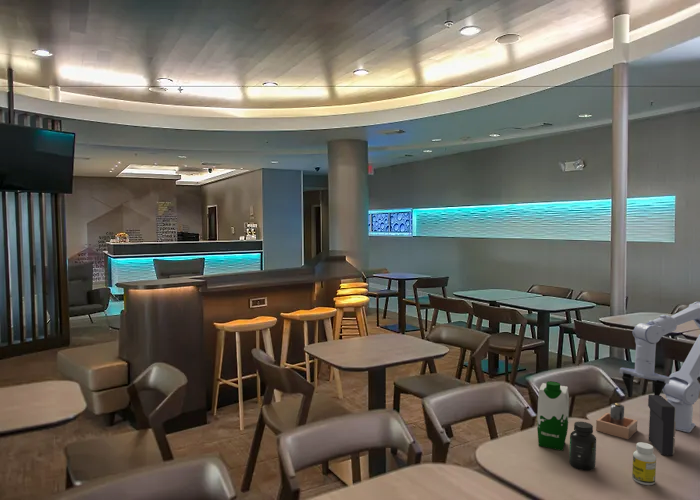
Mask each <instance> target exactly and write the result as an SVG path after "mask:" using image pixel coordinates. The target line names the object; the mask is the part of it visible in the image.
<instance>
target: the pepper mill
mask: <svg viewBox="0 0 700 500" xmlns="http://www.w3.org/2000/svg"><path fill="white" fill-rule="evenodd" d="M624 417H625V406H624V405H623V404H621V403H619V402H615V403H611V404H610V423H612V424H616V425H620V426H624Z"/></svg>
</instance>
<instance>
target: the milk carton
mask: <svg viewBox="0 0 700 500" xmlns="http://www.w3.org/2000/svg"><path fill="white" fill-rule="evenodd" d="M569 401H570V395H569V387H568V386H565V385H561V383H560V382H559V381H546V383H545V382H542V383H541V385H540V387H539V390H538V399H537V424H536V425H537V426H536V427H537V429H536V430H537V440H538V442H537V443H538V447H543V448H548V449H553V450H557V451H563V450H564V448H565V442H566V440H567V435H568V429H569V408H570V405H569V404H570V403H569Z"/></svg>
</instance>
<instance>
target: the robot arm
mask: <svg viewBox="0 0 700 500" xmlns="http://www.w3.org/2000/svg"><path fill="white" fill-rule="evenodd" d="M692 321H694V323H695V325H696V326H697V328H699V329H700V301H695V302H693V303H689V304H688V306H687V307H686V308H684V309H682V310H680V311H678V312H677V313H674V314H672V315H668V314H661V315H659V317H657V318H655V319H653V320H652V319H650V320H648V322H646V323H644V322H639V323H638V324H636V325H635V326H634V328H633V329H632V336H633V337H634V343H635V355H634V356H635V357H634V358H635V359H634V360H635V361H634V368H627V367H620V368H619V375H622V376H621V379H622V381H623V383H624V385H625V387H626V392H627V396H628V398H632V397H633V392H634V391H633V384H634V378H640V379H646V380H650V381H655V382H654V383H653V386H654V394H653V395H660V396H661V393H662V392H663V394H664V395H665V399H666V400H667V401H668V402H669V403H670V404H671V405H673V406H674V407H675V409H676V410H675V420H674V421H675V422H676V426H675V431H676V430H677V431H681V432H684V433H688V434H689V433H691V432H692V430H693V429H694V428H695V427H696V424H697V423H693V411H694V407H693V405H695V403H696V402H698V400H699V395H700V382H699V380H698V379H699V376H700V333H699V334H698V336H697V337H696V340H695V342H694V344H693V345H692V347H691V349H690V351H689V352H688V355H687V356H686V358H685V359H684V362H683V363H682V365H681V367H680V369H679V370H678V371H675V372H672V373H670V375H669V376H667V375H663V374H658V373H656V372H655V367H656V349H657V343H658V342H659V341H660V340H661V338H663V337H664V336H666V335H667V334H671V333H673V332H674V331H676V330H677V327H678V326H680V325H683V324H685V323H688V322H692Z"/></svg>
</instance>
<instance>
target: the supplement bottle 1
mask: <svg viewBox="0 0 700 500" xmlns="http://www.w3.org/2000/svg"><path fill="white" fill-rule="evenodd" d="M593 433H594V425H593V424H592V423H589V422H586V421H575V422H574V424H573V431H572V432H571V433H570V435H569V456H568V457H569V458H568V459H569V461H568V462H569V465H570V466H571V467H572V468H575V469H577V470H580V471H585V472H588V471H593V470H595V468H596V460H597V457H596V456H597V438H596V436H595V435H594V434H593Z"/></svg>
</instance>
